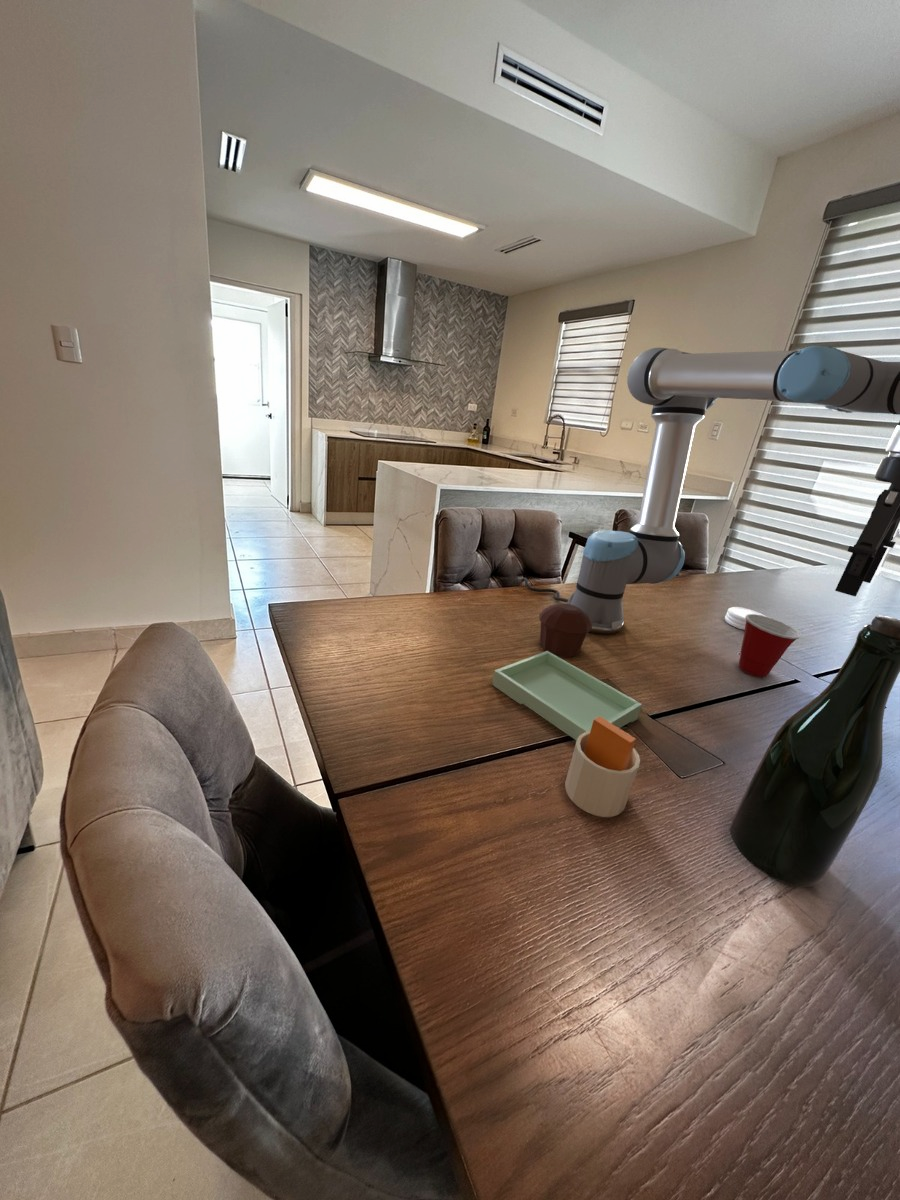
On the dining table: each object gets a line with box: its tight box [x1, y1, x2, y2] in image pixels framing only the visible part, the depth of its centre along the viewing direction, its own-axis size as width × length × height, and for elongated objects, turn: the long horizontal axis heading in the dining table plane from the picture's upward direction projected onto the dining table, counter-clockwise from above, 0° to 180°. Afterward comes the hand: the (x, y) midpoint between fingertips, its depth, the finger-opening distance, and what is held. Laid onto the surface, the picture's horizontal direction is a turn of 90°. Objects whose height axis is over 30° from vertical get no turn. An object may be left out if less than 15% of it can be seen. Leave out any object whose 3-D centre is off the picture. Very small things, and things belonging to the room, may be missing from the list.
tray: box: [491, 650, 643, 742], centre depth 86 cm, size 22×16×3 cm
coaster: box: [724, 606, 765, 631], centre depth 132 cm, size 10×10×4 cm
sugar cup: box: [564, 731, 641, 818], centre depth 64 cm, size 8×8×8 cm
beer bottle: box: [729, 615, 900, 888], centre depth 54 cm, size 10×10×33 cm
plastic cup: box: [738, 614, 803, 678], centre depth 105 cm, size 11×11×12 cm
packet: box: [584, 716, 637, 771], centre depth 63 cm, size 6×1×11 cm, turn 40°
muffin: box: [538, 602, 592, 658], centre depth 105 cm, size 12×11×10 cm
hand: (853, 586), depth 80 cm, fingers open, 13 cm apart
